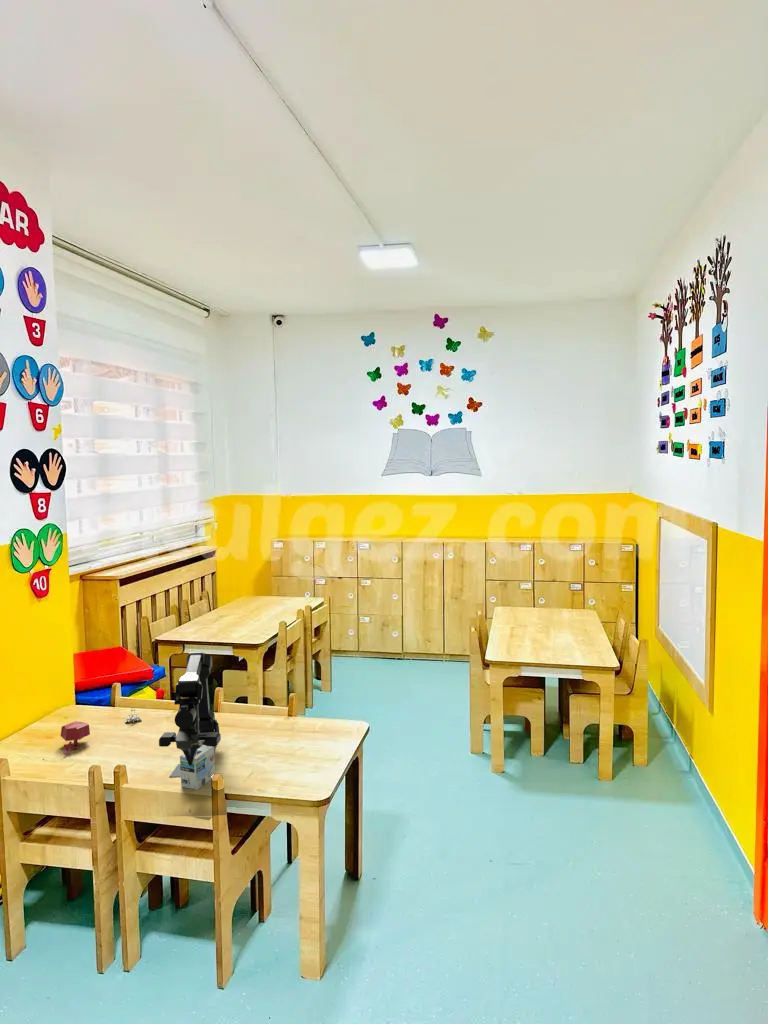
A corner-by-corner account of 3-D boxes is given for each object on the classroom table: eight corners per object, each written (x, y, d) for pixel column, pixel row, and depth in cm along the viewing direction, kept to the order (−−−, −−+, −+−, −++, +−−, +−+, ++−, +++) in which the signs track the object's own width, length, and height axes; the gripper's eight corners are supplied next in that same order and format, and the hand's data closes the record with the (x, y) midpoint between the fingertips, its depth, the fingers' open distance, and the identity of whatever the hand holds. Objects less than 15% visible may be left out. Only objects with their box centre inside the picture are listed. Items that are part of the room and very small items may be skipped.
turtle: (105, 745, 284) (104, 722, 284) (63, 764, 266) (62, 740, 265) (76, 740, 290) (75, 717, 290) (33, 758, 272) (32, 734, 271)
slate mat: (178, 765, 263) (178, 763, 263) (234, 764, 263) (234, 763, 263) (169, 777, 252) (169, 776, 252) (227, 777, 252) (227, 776, 252)
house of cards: (145, 718, 314) (145, 700, 314) (147, 724, 306) (146, 706, 306) (123, 721, 311) (122, 703, 311) (124, 728, 303) (123, 709, 303)
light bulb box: (197, 790, 242) (195, 759, 241) (180, 787, 245) (178, 756, 243) (215, 776, 252) (214, 746, 251) (199, 773, 254) (198, 743, 253)
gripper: (152, 726, 230) (154, 775, 231) (212, 726, 230) (213, 775, 231) (163, 714, 242) (164, 761, 242) (220, 714, 241) (221, 761, 242)
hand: (190, 765), depth 239 cm, fingers closed
